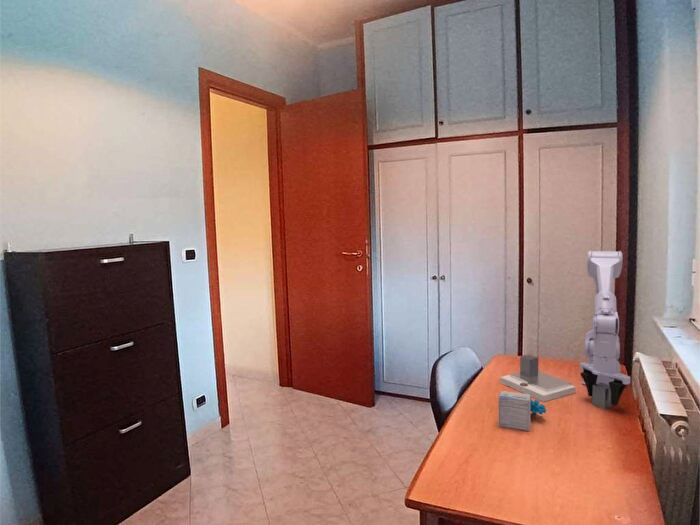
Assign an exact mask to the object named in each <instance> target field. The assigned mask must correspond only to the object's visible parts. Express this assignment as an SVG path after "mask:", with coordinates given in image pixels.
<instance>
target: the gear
mask: <svg viewBox="0 0 700 525" xmlns="http://www.w3.org/2000/svg"><path fill="white" fill-rule="evenodd" d="M537 413H538V414H539V415H544V414H546V413H547V409H546V405H544V404H542V403H541V404H540V400H538V399H534V401H533V400H532V399H531V414H535V415H536V414H537Z"/></svg>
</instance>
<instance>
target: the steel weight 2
mask: <svg viewBox="0 0 700 525" xmlns="http://www.w3.org/2000/svg"><path fill="white" fill-rule="evenodd" d="M591 398H592V400H591V404H592V406H596V407H598V408H600V409H603V410H607V409H611V408H614V406H615V405H614V406H613V405H611V390H610V386H609V385H608V384H605V383H602V382H601V383H598V384H594V385H593V392H592V396H591Z"/></svg>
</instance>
